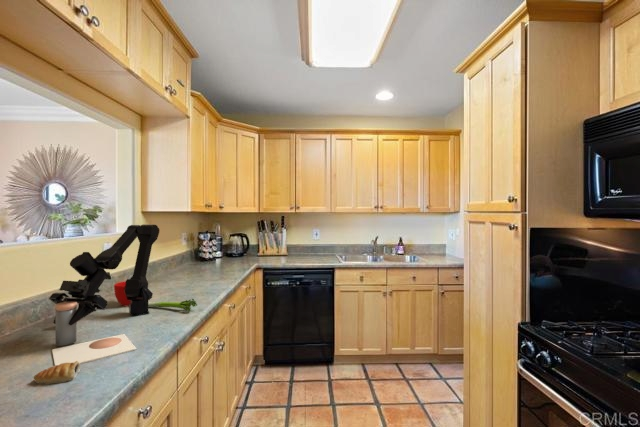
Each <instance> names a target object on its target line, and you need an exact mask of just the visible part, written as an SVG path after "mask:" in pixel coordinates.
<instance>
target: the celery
mask: <svg viewBox="0 0 640 427" xmlns="http://www.w3.org/2000/svg"><path fill="white" fill-rule="evenodd" d="M192 307H193V308H194V307H198V304H197V301H196V300H195V298H192V299H188V300H187V299H186V300H183V301H180V302H173V301H171V302H170V301H168V302H166V301H163V302H161V301H158V302H157V301H155V302H154V301H148V308H177V309H183V310H184V311H187V313H189V312H191V308H192Z"/></svg>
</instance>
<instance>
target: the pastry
mask: <svg viewBox="0 0 640 427" xmlns="http://www.w3.org/2000/svg"><path fill="white" fill-rule="evenodd" d="M80 371H81V364H79V362H78V361H76V362H74V363H62V364H60V365H55V364H54V365H53V366H50V367H48V368H47V369H43V370H41V371H39V372H38V373H36V374H34V376H33V380H34V382H35V383H36V384H47V385H48V384H57V383H66V382H71V381H73V380H75V379H76V377H77V376H78V374H79V373H80Z"/></svg>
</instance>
